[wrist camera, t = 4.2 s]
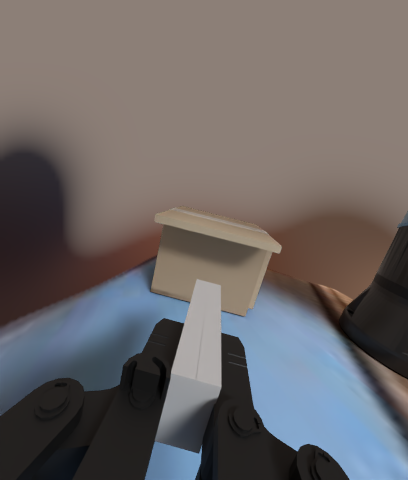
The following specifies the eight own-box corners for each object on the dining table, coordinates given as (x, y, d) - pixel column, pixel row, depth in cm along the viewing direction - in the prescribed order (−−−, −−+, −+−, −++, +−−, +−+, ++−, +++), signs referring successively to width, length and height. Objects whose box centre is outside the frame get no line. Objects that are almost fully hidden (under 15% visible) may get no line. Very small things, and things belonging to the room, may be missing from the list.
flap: (255, 229, 35) (256, 224, 35) (279, 253, 21) (282, 245, 21) (181, 210, 36) (182, 205, 36) (154, 221, 21) (155, 213, 21)
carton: (242, 286, 38) (260, 231, 35) (250, 318, 28) (275, 245, 26) (168, 266, 38) (179, 211, 36) (150, 291, 29) (164, 217, 26)
